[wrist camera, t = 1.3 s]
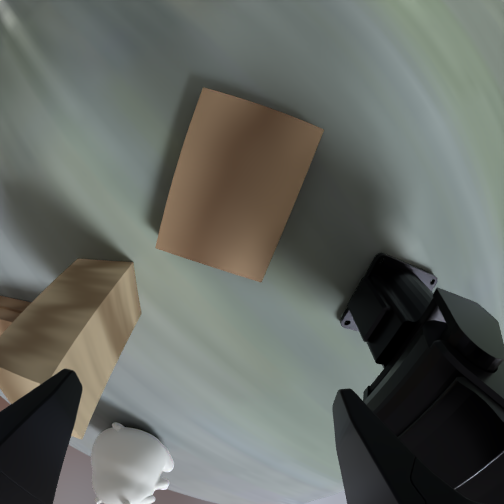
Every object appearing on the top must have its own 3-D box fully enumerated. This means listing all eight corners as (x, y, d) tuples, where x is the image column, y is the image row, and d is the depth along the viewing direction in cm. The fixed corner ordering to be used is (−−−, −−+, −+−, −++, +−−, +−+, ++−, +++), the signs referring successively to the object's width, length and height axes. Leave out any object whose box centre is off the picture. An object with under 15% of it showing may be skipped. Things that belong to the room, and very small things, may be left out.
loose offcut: (317, 129, 16) (324, 129, 15) (260, 270, 20) (261, 282, 18) (207, 91, 15) (203, 87, 14) (162, 238, 19) (155, 248, 17)
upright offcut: (133, 262, 20) (45, 385, 9) (141, 313, 21) (82, 439, 10) (78, 258, 20) (-19, 358, 9) (89, 306, 21) (17, 413, 10)
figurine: (87, 409, 28) (57, 483, 17) (149, 412, 27) (125, 503, 16) (126, 448, 32) (108, 513, 21) (184, 451, 31) (173, 526, 20)
